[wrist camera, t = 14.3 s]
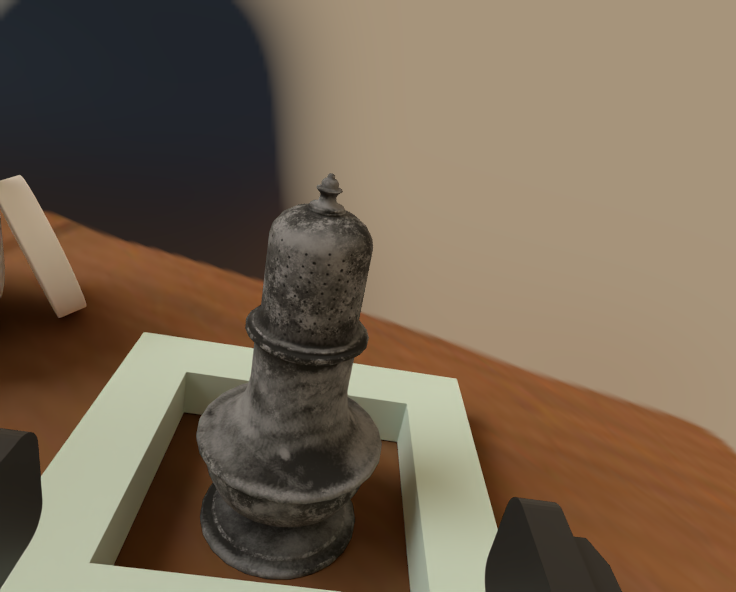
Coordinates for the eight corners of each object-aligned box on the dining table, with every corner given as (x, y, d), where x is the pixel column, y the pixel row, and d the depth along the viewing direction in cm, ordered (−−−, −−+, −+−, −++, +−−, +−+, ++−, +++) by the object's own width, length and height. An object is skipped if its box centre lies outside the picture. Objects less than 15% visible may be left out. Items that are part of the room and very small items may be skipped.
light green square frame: (522, 758, 14) (547, 710, 13) (-69, 704, 13) (-81, 647, 12) (446, 414, 27) (456, 378, 26) (143, 370, 26) (144, 332, 25)
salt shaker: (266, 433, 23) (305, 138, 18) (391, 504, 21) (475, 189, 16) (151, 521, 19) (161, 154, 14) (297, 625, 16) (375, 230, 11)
